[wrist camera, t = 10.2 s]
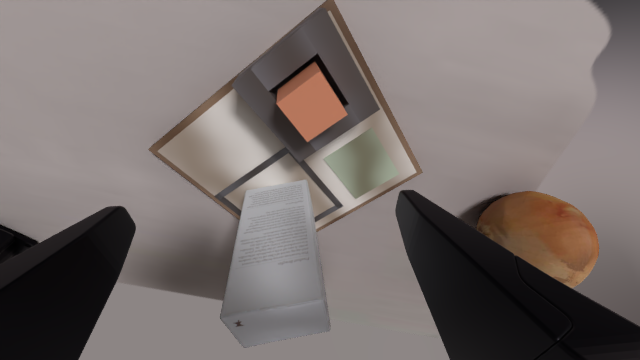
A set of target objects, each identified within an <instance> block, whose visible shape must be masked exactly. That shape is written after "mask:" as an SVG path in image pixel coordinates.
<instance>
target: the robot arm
mask: <svg viewBox="0 0 640 360" xmlns="http://www.w3.org/2000/svg"><path fill="white" fill-rule="evenodd" d="M396 217H397V221H398V224H399V228H400V231H401V235H402V238H403V242H404V246H405V249H406V252H407V255H408V258H409V260H410V263H411V265H412V268H413V270H414V273H415V275H416V278H417V280H418V282H419V285H420V287H421V290H422V292H423V295H424V297H425V300H426V302H427V304H428V307H429V309H430V312H431V314H432V317H433V319H434V322H435V324H436V326H437V329H438V331H439V334H440V336H441V339H442V341H443V343H444V346H445V348H446V351H447V353H448V356H449V358H450V360H640V326H638V325H636V324H635V323H633V322H631V321H629V320H627V319H626V318H624V317H622V316H620V315H618V314H617V313H615V312H613V311H611V310H609V309H608V308H606V307H604V306H602V305H600V304H599V303H597V302H595V301H593V300H591V299H590V298H588V297H586V296H584V295H582V294H581V293H579V292H577V291H575V290H574V289H572V288H570V287H568V286H567V285H565V284H563V283H561V282H560V281H558V280H556V279H555V278H553V277H551V276H550V275H548V274H546V273H545V272H543V271H541V270H540V269H538V268H536V267H535V266H533V265H531V264H530V263H528V262H527V261H525V260H524V259H522V258H520V257H519V256H517V255H515V256H514V253H512V252H511V251H509V250H508V249H506V248H504V247H503V246H501V245H500V244H498V243H496V242H495V241H493V240H492V239H490V238H488V237H487V236H485V235H484V234H482V233H481V232H479V231H477V230H476V229H474V228H473V227H471V226H469V225H468V224H466V223H465V222H463V221H462V220H460V219H458V218H457V217H455V216H454V215H452V214H450V213H449V212H447V211H446V210H444V209H442V208H441V207H439V206H438V205H436V204H435V203H433V202H431V201H430V200H428V199H427V198H425V197H423V196H422V195H420V194H419V193H417V192H416V191H414V190H402V191H400V193H399V196H398V200H397V205H396ZM135 230H136V226H135V223H134V221H133V220H132V218H131V217H130V215H129V213H128V212H127V210H126V209H125V208H124V207H122V206H110V207H106V208H104V209H102V210H100V211H98V212H96V213H95V214H93V215H91V216H89V217H87V218H85V219H83V220H82V221H80V222H78V223H76V224H74V225H72V226H70V227H69V228H67V229H65V230H63V231H61V232H59V233H57V234H55V235H54V236H52V237H50V238H48V239H46V240H44V241H42V242H41V243H39V244H37V242H36V241H34V240H32V239H29V238H27V237H25V236H23V235H20V234H18V233H16V232H14V231H11V230H9V229H7V228H5V227H2V226H0V360H78V359H79V357H80V355H81V353H82V351H83V349H84V347H85V345H86V343H87V341H88V339H89V337H90V335H91V333H92V331H93V329H94V327H95V324H96V322H97V320H98V318H99V316H100V314H101V312H102V310H103V308H104V306H105V304H106V302H107V300H108V298H109V296H110V294H111V291H112V290H113V288H114V285H115V283H116V281H117V279H118V277H119V275H120V272H121V270H122V267H123V264H124V262H125V259H126V256H127V253H128V250H129V248H130V245H131V242H132V239H133V237H134V234H135Z"/></svg>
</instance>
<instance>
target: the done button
mask: <svg viewBox="0 0 640 360" xmlns="http://www.w3.org/2000/svg"><path fill="white" fill-rule="evenodd" d="M276 104H277V105H278V106H279V108H280V109H281V110H282V111H283V113H284V114H285V115H286V116H287V118H288V119H289V120H290V121H291V123H292V124H293V125H294V126H295V128H296V129H297V130H298V131H299V132H300V134H301V135H302V136H303V137H304V139H305V140H306V141H307V142H308V141H310V140H311V139H313V138H314V137H316V136H317V135H319V134H320V133H322V132H323V131H324V130H326V129H327V128H329V127H330V126H332V125H333V124H335V123H336V122H338V121H339V120H341V119H342V118H344V117H345V116H347V115H348V114H347V112H346V111H345V109H344V107H343V105H342V104H341V102H340V100H339V98H338V97H337V95H336V94H335V92H334V91H333V89H332V87H331V86H330V84H329V83H328V81H327V80H326V78H325V76H324V75H323V73H322V72H321V70H320V68H319V67H318V65H317V64H316V62H315V61H314V62H313V63H312V64H310V65H309V66H308V67H306V68H305V69H304V70H302V71H301V72H300V73H299V74H297V75H296V76H295V77H293V78H292V79H291V80H290V81H288V82H287V83H286V84H284V85H283V86H282V87H280V88H279V89H278V93H277V103H276Z"/></svg>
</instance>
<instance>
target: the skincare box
mask: <svg viewBox="0 0 640 360" xmlns="http://www.w3.org/2000/svg"><path fill="white" fill-rule="evenodd" d="M220 319H221V320H222V321H223V323H224V324H225V325H226V326H227V327H228V329H229V330H230V331H231V333H232V334H233V335H234V336H235V338H236V339H237V340H238V341H239V343H240V344H241V345H242V346H243V347H244V348H247V347H250V346H256V345H260V344H265V343H270V342H274V341H280V340H286V339H291V338H296V337H301V336H307V335H312V334H316V333H322V332H327V331H330V329H331V326H330V319H329V312H328V306H327V299H326V292H325V286H324V279H323V273H322V266H321V260H320V253H319V246H318V240H317V233H316V226H315V219H314V212H313V207H312V201H311V197H310V192H309V186H308V182H307V180H300V181H295V182H289V183H284V184H279V185H273V186H268V187H262V188H257V189H251V190H246V192H245V197H244V201H243V206H242V211H241V216H240V222H239V226H238V231H237V236H236V241H235V246H234V251H233V256H232V261H231V266H230V270H229V276H228V281H227V286H226V291H225V296H224V300H223V305H222V310H221V314H220Z"/></svg>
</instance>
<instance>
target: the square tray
mask: <svg viewBox="0 0 640 360" xmlns="http://www.w3.org/2000/svg"><path fill="white" fill-rule="evenodd" d="M314 61H315V62H316V64H317V65H318V67H319V68H320V70H321V72H322V73H323V75H324V76H325V78H326V80H327V81H328V83H329V84H330V86H331V87H332V89H333V91H334V92H335V94H336V95H337V97H338V98H339V100H340V102H341V104H342V105H343V107H344V109H345V111H346V112H347V114H348V115H347V116H345V117H344V118H342V119H341V120H339V121H338V122H336V123H335V124H333V125H332V126H330V127H329V128H327V129H326V130H324V131H323V132H322V133H320V134H319V135H317V136H316V137H314V138H313V139H311V140H310V141H308V142H307V141H306V140H305V139H304V137H303V136H302V135H301V134H300V132H299V131H298V130H297V129H296V128H295V126H294V125H293V124H292V123H291V121H290V120H289V119H288V118H287V116H286V115H285V114H284V113H283V111H282V110H281V109H280V108H279V106H278V105H277V104H276V103H277V93H278V89H279V88H280V87H282V86H283V85H284V84H286V83H287V82H288V81H290V80H291V79H292V78H293V77H295V76H296V75H297V74H299V73H300V72H301V71H302V70H304V69H305V68H306V67H308V66H309V65H310V64H312V63H313V62H314ZM148 150H149V151H151V152H152V153H153V154H155V155H156V156H157V157H158V158H160V159H161V160H162V161H164V162H165V163H166V164H168V165H169V166H170V167H171V168H173V169H174V170H175V171H177V172H178V173H179V174H181V175H182V176H183V177H184V178H186V179H187V180H188V181H190V182H191V183H192V184H194V185H195V186H196V187H197V188H199V189H200V190H201V191H203V192H204V193H205V194H207V195H208V196H209V197H210V198H212V199H213V200H214V201H216V202H217V203H218V204H220V205H221V206H222V207H223V208H225V209H226V210H227V211H229V212H230V213H231V214H233V215H234V216H235V217H236V218H238V219H239V220H240V216H241V211H242V206H243V201H244V197H245V192H246V190H251V189H257V188H262V187H268V186H273V185H279V184H284V183H289V182H295V181H300V180H307V182H308V186H309V192H310V197H311V201H312V207H313V212H314V219H315V226H316V232H318V231H319V230H321V229H323V228H325V227H327V226H328V225H330V224H332V223H334V222H335V221H337V220H339V219H341V218H343V217H344V216H346V215H348V214H350V213H351V212H353V211H355V210H357V209H359V208H360V207H362V206H364V205H366V204H368V203H369V202H371V201H373V200H375V199H376V198H378V197H380V196H382V195H384V194H385V193H387V192H389V191H391V190H392V189H394V188H396V187H398V186H400V185H401V184H403V183H405V182H407V181H408V180H410V179H412V178H414V177H416V176H417V175H419V174H421V173H423V172H422V170H421V168H420V166H419V164H418V162H417V161H416V159H415V157H414V155H413V153H412V151H411V149H410V147H409V145H408V143H407V141H406V139H405V137H404V135H403V133H402V131H401V130H400V128H399V126H398V124H397V122H396V120H395V118H394V116H393V114H392V112H391V110H390V108H389V106H388V104H387V102H386V100H385V99H384V97H383V95H382V93H381V91H380V89H379V87H378V85H377V83H376V81H375V79H374V77H373V75H372V73H371V71H370V70H369V68H368V66H367V64H366V62H365V60H364V58H363V56H362V54H361V52H360V50H359V48H358V46H357V44H356V42H355V40H354V39H353V37H352V35H351V33H350V31H349V29H348V27H347V25H346V23H345V21H344V19H343V17H342V15H341V13H340V11H339V10H338V8H337V6H336V4H335V2H334V0H327V1H325V2H324V3H323V4H322V5H321V6H319V7H318V8H317V9H316V10H315V11H313V12H312V13H311V14H310V15H309V16H307V17H306V18H305V19H304V20H302V21H301V22H300V23H299V24H298V25H296V26H295V27H294V28H293V29H292V30H290V31H289V32H288V33H287V34H286V35H284V36H283V37H282V38H281V39H280V40H278V41H277V42H276V43H275V44H274V45H272V46H271V47H270V48H269V49H268V50H266V51H265V52H264V53H263V54H262V55H260V56H259V57H258V58H257V59H256V60H254V61H253V62H252V63H251V64H250V65H248V66H247V67H246V68H245V69H244V70H242V71H241V72H240V73H239V74H238V75H236V76H235V77H234V78H233V79H232V80H230V81H229V82H228V83H227V84H226V85H224V86H223V87H222V88H221V89H220V90H218V91H217V92H216V93H215V94H214V95H212V96H211V97H210V98H209V99H208V100H206V101H205V102H204V103H203V104H202V105H200V106H199V107H198V108H197V109H196V110H194V111H193V112H192V113H191V114H190V115H188V116H187V117H186V118H185V119H184V120H182V121H181V122H180V123H179V124H178V125H176V126H175V127H174V128H173V129H172V130H170V131H169V132H168V133H167V134H166V135H164V136H163V137H162V138H161V139H159V140H158V141H157V142H156V143H155V144H153V145H152V146H151V147H150V148H149V149H148Z"/></svg>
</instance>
